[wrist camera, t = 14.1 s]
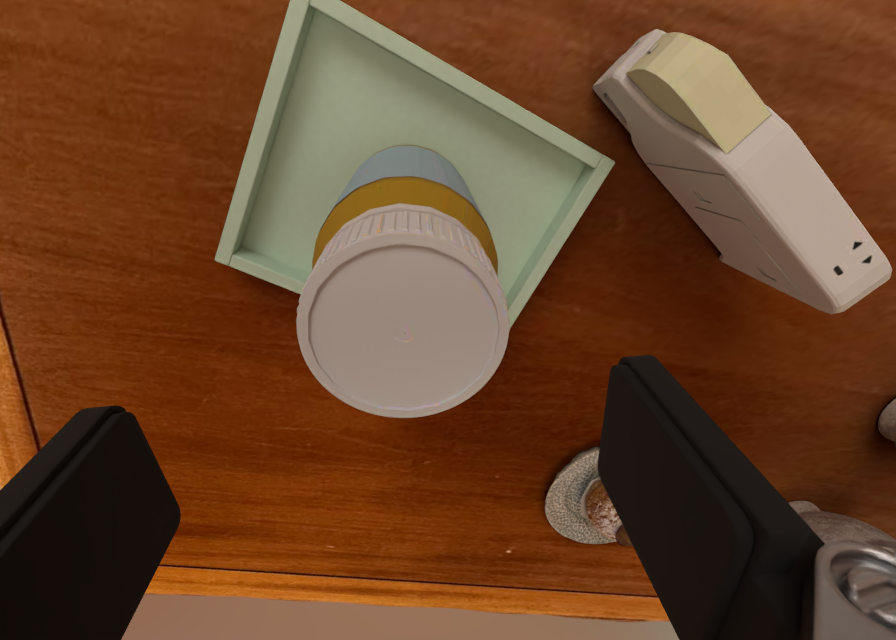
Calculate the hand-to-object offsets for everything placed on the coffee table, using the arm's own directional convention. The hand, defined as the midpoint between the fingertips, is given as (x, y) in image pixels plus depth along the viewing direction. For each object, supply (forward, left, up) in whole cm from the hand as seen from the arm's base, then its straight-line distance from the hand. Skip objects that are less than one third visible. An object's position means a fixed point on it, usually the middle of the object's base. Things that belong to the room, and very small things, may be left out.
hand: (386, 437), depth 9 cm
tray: (0, 0, -20) cm, 20 cm away
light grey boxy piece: (+13, +9, -20) cm, 26 cm away
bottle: (0, 0, -20) cm, 20 cm away
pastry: (+26, -15, -20) cm, 36 cm away
